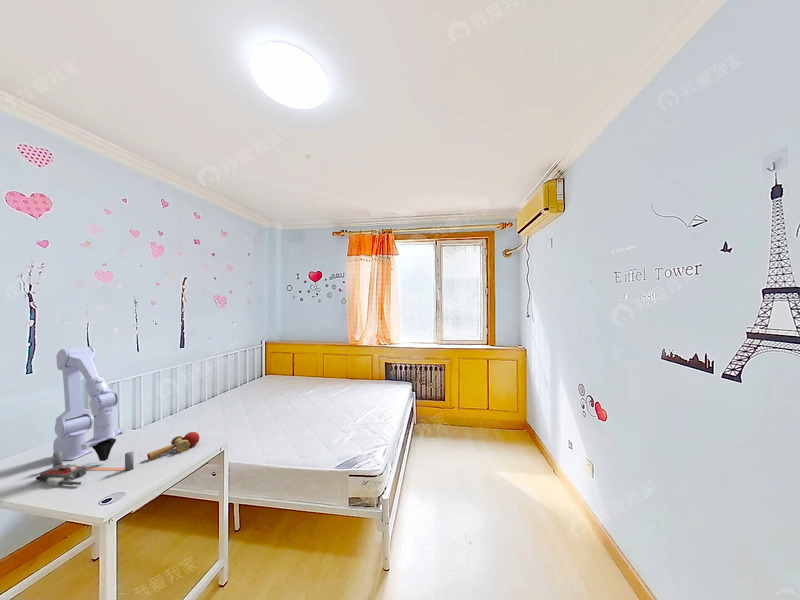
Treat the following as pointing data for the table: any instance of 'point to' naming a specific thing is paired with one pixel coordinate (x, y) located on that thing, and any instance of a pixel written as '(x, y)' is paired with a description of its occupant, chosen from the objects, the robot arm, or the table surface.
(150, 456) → the kendama
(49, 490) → the table surface
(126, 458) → the finish line
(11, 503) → the table surface
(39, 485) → the table surface
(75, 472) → the walkie-talkie
